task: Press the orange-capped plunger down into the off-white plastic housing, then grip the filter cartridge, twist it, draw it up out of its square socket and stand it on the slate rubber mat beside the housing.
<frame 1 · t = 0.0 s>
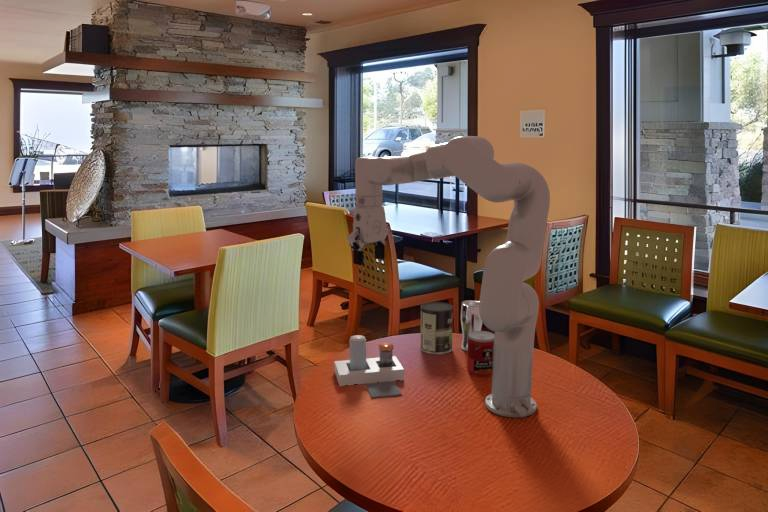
hand: (369, 261, 162), 31 cm above the table, tool pointing down, fingers open, 9 cm apart
housing: (368, 375, 159), on the table
coffee can: (435, 349, 180), on the table
plunger: (386, 355, 159), point 6 cm above the table, slide at 0.0 cm
cartridge: (358, 376, 159), resting in housing
mat: (383, 390, 150), on the table
canned food: (480, 372, 163), on the table
beer glass: (470, 348, 181), on the table
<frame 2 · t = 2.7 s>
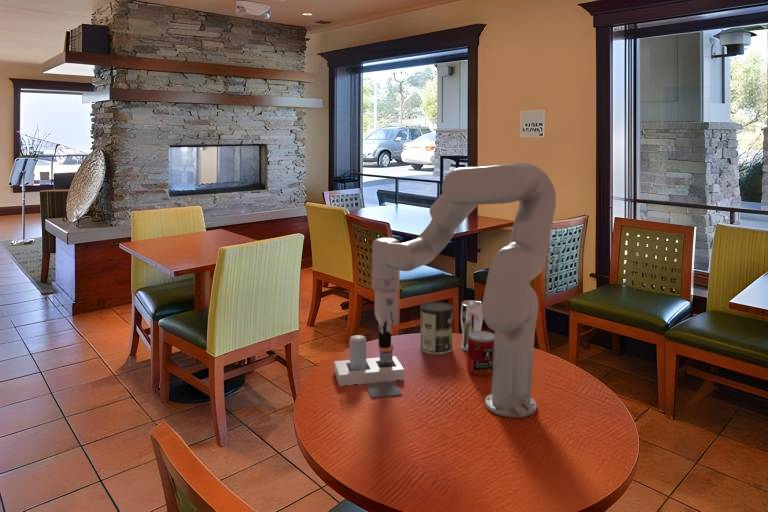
hand: (384, 346, 159), 8 cm above the table, tool pointing down, fingers closed
plunger: (386, 356, 159), point 5 cm above the table, slide at 0.3 cm, touching gripper
everything else where it was.
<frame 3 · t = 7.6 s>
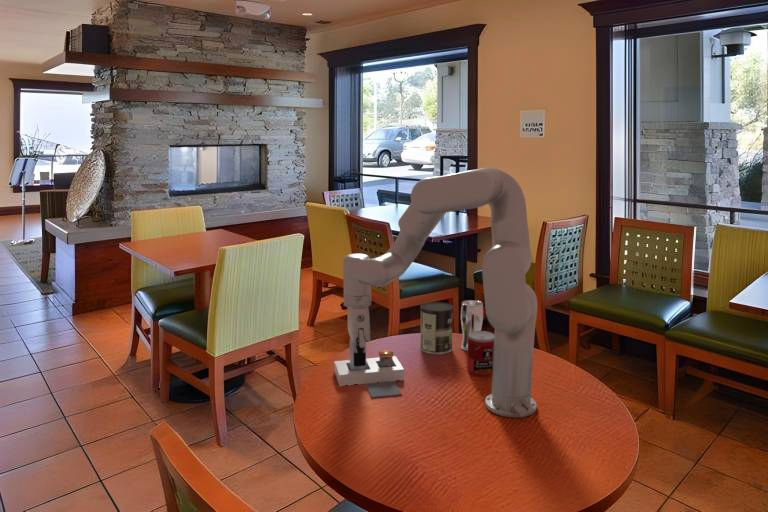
hand: (358, 361, 158), 5 cm above the table, tool pointing down, fingers closed on cartridge, 4 cm apart
plunger: (386, 362, 160), point 4 cm above the table, slide at 2.1 cm
cartridge: (358, 376, 159), resting in housing, touching gripper
everything else where it was.
when the fingers open (6 cm above the table, at t = 13.6 s): cartridge stays where it is, resting on mat.
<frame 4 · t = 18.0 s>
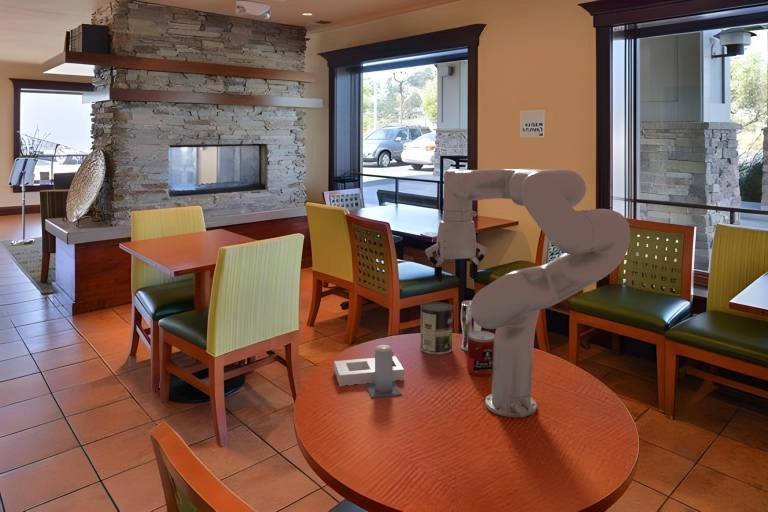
hand: (455, 279, 153), 28 cm above the table, tool pointing down, fingers open, 9 cm apart
cartridge: (383, 388, 150), resting on mat
everything else where it was.
at the end: plunger slide at 2.1 cm; cartridge inside the target area on the mat (0.1 cm from its centre), point 0.5 cm above the mat's base; cartridge tilted 2° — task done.
